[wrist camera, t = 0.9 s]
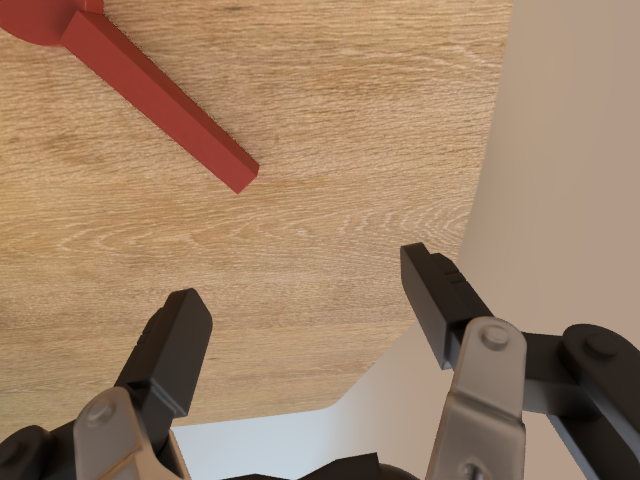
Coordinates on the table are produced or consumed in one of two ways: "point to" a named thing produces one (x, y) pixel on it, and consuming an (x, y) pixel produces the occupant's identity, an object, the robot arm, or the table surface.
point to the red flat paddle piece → (130, 78)
